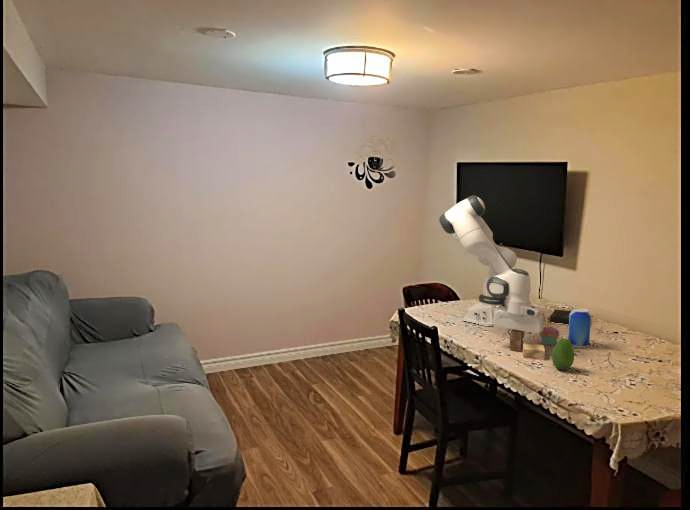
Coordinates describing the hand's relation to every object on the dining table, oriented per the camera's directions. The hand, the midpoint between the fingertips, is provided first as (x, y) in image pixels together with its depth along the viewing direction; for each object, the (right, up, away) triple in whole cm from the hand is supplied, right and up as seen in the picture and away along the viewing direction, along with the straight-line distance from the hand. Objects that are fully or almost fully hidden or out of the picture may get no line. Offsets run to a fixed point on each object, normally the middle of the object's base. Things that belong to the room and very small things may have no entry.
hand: (516, 340), depth 222 cm
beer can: (+28, -4, +6) cm, 29 cm away
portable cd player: (+42, +1, +46) cm, 63 cm away
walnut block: (0, -4, +1) cm, 4 cm away
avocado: (+10, -8, -23) cm, 26 cm away
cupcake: (+17, -3, +11) cm, 20 cm away
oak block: (+4, -6, -7) cm, 10 cm away
